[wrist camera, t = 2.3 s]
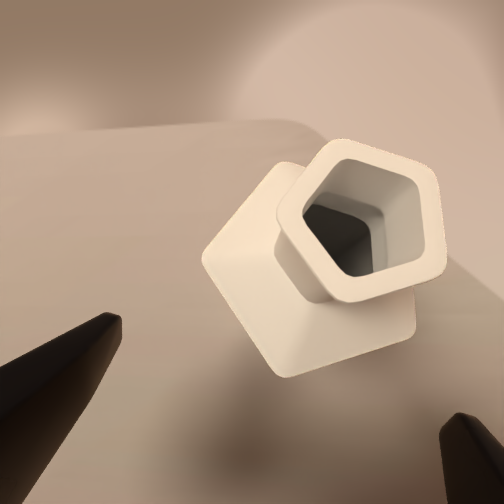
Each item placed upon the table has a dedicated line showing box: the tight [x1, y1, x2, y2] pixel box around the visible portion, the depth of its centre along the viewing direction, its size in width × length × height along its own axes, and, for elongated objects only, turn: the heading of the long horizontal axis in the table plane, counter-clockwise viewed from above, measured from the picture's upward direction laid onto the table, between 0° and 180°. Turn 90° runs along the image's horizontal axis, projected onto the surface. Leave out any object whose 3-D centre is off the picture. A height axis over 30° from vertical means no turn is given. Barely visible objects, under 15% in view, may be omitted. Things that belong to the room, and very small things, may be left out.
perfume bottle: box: [202, 138, 447, 378], centre depth 11 cm, size 5×4×15 cm
